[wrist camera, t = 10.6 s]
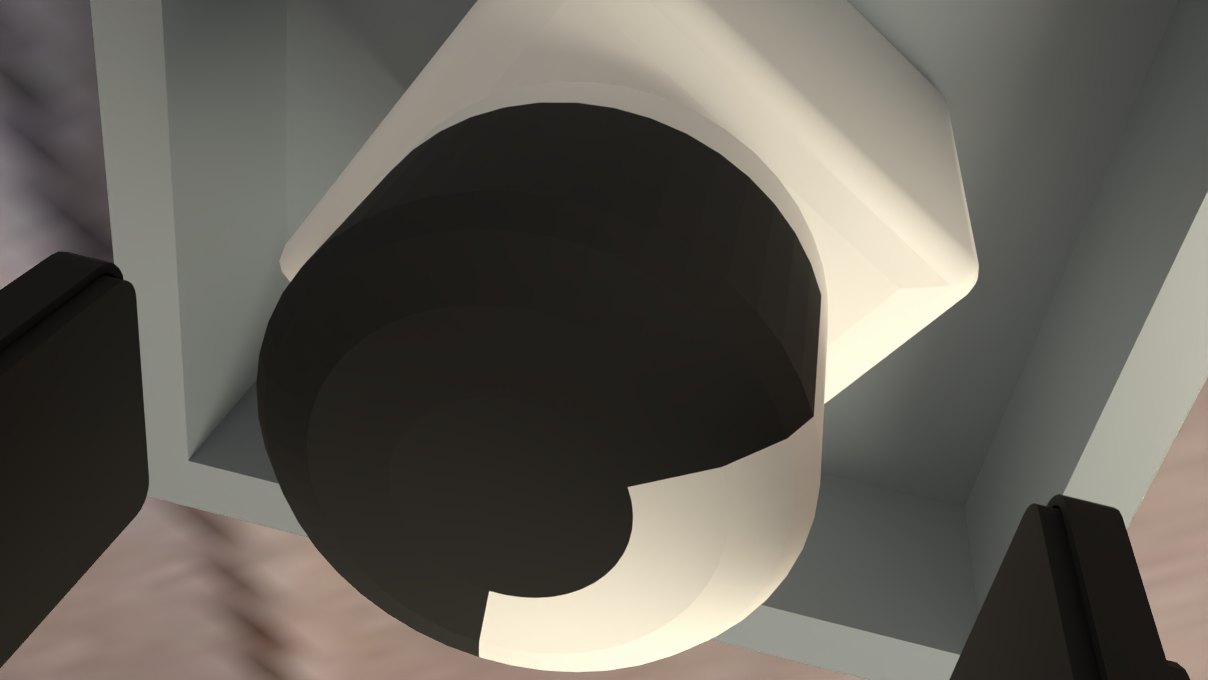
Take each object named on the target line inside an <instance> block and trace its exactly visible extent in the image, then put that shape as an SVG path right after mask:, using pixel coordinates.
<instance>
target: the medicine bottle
mask: <svg viewBox="0 0 1208 680" xmlns="http://www.w3.org/2000/svg"><path fill="white" fill-rule="evenodd" d="M279 262H280V266H281V270H282V273H283V274H284V275H285V276H286V277H287V279H288V280H289V281H290V283H289V285H288V286H287V288H286V289H285V290H284V292H283V293H282V295H281V297H280V299H279V301H278V303H277V305H276V307H275V309H274V311H273V313H272V315H271V317H270V319H269V321H268V324H267V328H266V332H265V335H264V339H263V342H262V346H261V349H260V353H259V362H258V372H257V382H256V389H257V405H258V418H259V422H260V427H261V432H262V436H263V441H264V445H265V449H266V452H267V454H268V457H269V460H270V462H271V465H272V468H273V470H274V473H275V476H276V478H277V481H278V483H279V486H280V488H281V490H282V493H283V495H284V497H285V499H286V500H287V502H288V504H289V506H290V508H291V510H292V512H293V514H294V515H295V517H296V519H297V521H298V523H299V524H300V526H301V527H302V528H303V530H304V531H305V533H306V534H307V536H308V537H309V538H310V540H311V541H312V543H313V544H314V546H315V547H316V548H317V549H318V551H319V552H320V553H321V554H322V555H323V556H324V557H325V559H326V560H327V561H328V562H329V563H330V564H331V565H332V566H333V568H334V569H335V570H336V571H337V572H338V573H339V574H340V575H341V576H342V577H343V578H345V579H346V580H347V581H348V582H349V583H350V584H351V585H352V586H353V587H354V588H356V589H357V590H358V591H359V592H360V593H361V594H362V595H363V596H365V597H366V598H368V599H369V600H370V601H372V602H373V603H374V604H376V605H377V606H378V607H380V608H381V609H382V610H384V611H385V612H386V613H388V614H389V615H391V616H393V617H394V618H396V619H398V620H399V621H401V622H403V623H404V624H406V625H408V626H409V627H411V628H413V629H414V630H416V631H418V632H420V633H422V634H424V635H426V636H428V637H430V638H433V639H435V640H437V641H439V642H441V643H443V644H445V645H447V646H450V647H453V648H456V649H458V650H461V651H464V652H467V653H469V654H472V655H475V656H478V657H481V658H485V659H489V660H493V661H497V662H500V663H504V664H508V665H513V666H519V667H525V668H532V669H538V670H546V671H565V672H588V671H607V670H614V669H620V668H626V667H632V666H638V665H642V664H646V663H649V662H653V661H656V660H660V659H663V658H666V657H670V656H672V655H675V654H677V653H680V652H682V651H685V650H687V649H689V648H692V647H694V646H696V645H698V644H701V643H703V642H705V641H708V640H710V639H712V638H714V637H716V636H718V635H719V634H721V633H723V632H724V631H726V630H728V629H729V628H731V627H732V626H734V625H736V624H737V623H739V622H740V621H742V620H743V619H745V618H746V617H747V616H748V615H749V614H750V613H752V612H753V611H754V610H755V609H756V608H757V607H759V606H760V605H761V604H762V603H763V602H765V601H766V600H767V599H768V597H769V596H770V595H771V594H772V593H773V592H774V590H775V589H776V588H777V587H778V586H779V585H780V583H781V582H782V581H783V580H784V579H785V578H786V576H787V575H788V573H789V571H790V570H791V568H792V566H793V565H794V563H795V561H796V560H797V558H798V556H799V555H800V553H801V551H802V550H803V547H804V545H805V542H806V539H807V537H808V534H809V531H810V529H811V526H812V523H813V521H814V517H815V512H816V506H817V500H818V495H819V489H820V477H821V457H822V438H823V418H824V404H825V403H826V402H828V401H829V400H830V399H832V398H833V397H834V396H836V395H837V394H838V393H840V392H841V391H842V390H843V389H845V388H846V387H847V386H849V385H850V384H851V383H853V382H854V381H855V380H857V379H858V378H859V377H860V376H862V375H863V374H864V373H866V372H867V371H868V370H870V369H871V368H872V367H873V366H875V365H876V364H877V363H879V362H880V361H881V360H883V359H884V358H885V357H887V356H888V355H889V354H890V353H892V352H893V351H894V350H896V349H897V348H898V347H900V346H901V345H902V344H903V343H905V342H906V341H907V340H909V339H910V338H911V337H913V336H914V335H915V334H917V333H918V332H919V331H920V330H922V329H923V328H924V327H926V326H927V325H928V324H930V323H931V322H932V321H933V320H935V319H936V318H937V317H939V316H940V315H941V314H943V313H944V312H945V311H947V310H948V309H949V308H950V307H952V306H953V305H954V304H956V303H957V302H958V301H960V300H961V299H962V298H963V297H965V296H966V295H967V294H968V293H969V292H970V290H971V289H972V288H973V287H974V285H975V284H976V281H977V279H978V270H979V264H978V259H977V253H976V248H975V243H974V238H973V233H972V228H971V223H970V218H969V212H968V207H967V202H966V197H965V192H964V187H963V182H962V177H961V171H960V166H959V161H958V156H957V151H956V146H955V141H954V136H953V130H952V125H951V120H950V115H949V110H948V105H947V102H946V100H945V99H944V97H943V95H942V94H941V93H940V92H939V91H938V90H937V89H936V88H935V87H934V86H933V85H932V84H931V83H930V82H929V81H928V80H927V79H926V78H925V77H924V76H923V75H922V74H921V73H920V72H919V71H918V70H917V69H916V68H915V67H914V66H913V65H912V64H911V63H910V62H909V61H908V60H907V59H906V58H905V57H904V56H903V55H902V54H901V53H900V52H899V51H898V50H897V49H896V48H895V47H894V46H893V45H892V44H891V43H890V42H889V41H888V40H887V39H886V38H885V37H884V36H883V35H882V34H881V33H880V32H879V31H878V30H877V29H876V28H875V27H874V26H872V25H871V24H870V23H869V22H868V21H867V20H866V19H865V18H864V17H863V16H862V15H861V14H860V13H859V12H858V11H857V10H856V9H855V8H854V7H853V6H852V5H851V4H850V3H849V2H848V1H847V0H477V2H476V3H475V4H474V5H473V7H472V8H471V9H470V11H469V12H468V13H467V14H466V16H465V17H464V18H463V19H462V21H461V22H460V23H459V24H458V26H457V27H456V28H455V30H454V31H453V32H452V33H451V35H450V36H449V37H448V38H447V40H446V41H445V42H444V44H443V45H442V46H441V47H440V49H439V50H438V51H437V52H436V54H435V55H434V56H433V58H432V59H431V60H430V61H429V63H428V64H427V65H426V66H425V68H424V69H423V70H422V71H421V73H420V74H419V75H418V77H417V78H416V79H415V80H414V82H413V83H412V84H411V85H410V87H409V88H408V89H407V91H406V92H405V93H404V94H403V96H402V97H401V98H400V99H399V101H398V102H397V103H396V104H395V106H394V107H393V108H392V110H391V111H390V112H389V113H388V115H387V116H386V117H385V118H384V120H383V121H382V122H381V124H380V125H379V126H378V127H377V129H376V130H375V131H374V132H373V134H372V135H371V136H370V138H369V139H368V140H367V141H366V143H365V144H364V145H363V146H362V148H361V149H360V150H359V151H358V153H357V154H356V155H355V157H354V158H353V159H352V160H351V162H350V163H349V164H348V165H347V167H346V168H345V169H344V171H343V172H342V173H341V174H340V176H339V177H338V178H337V179H336V181H335V182H334V183H333V184H332V186H331V187H330V188H329V190H328V191H327V192H326V193H325V195H324V196H323V197H322V198H321V200H320V201H319V202H318V204H317V205H316V206H315V207H314V209H313V210H312V211H311V212H310V214H309V215H308V216H307V218H306V219H305V220H304V221H303V223H302V224H301V225H300V226H299V228H298V229H297V230H296V231H295V233H294V234H293V235H292V237H291V238H290V239H289V240H288V242H287V243H286V244H285V247H284V249H283V252H282V255H281V258H280V261H279Z"/></svg>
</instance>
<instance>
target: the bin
mask: <svg viewBox="0 0 1208 680" xmlns="http://www.w3.org/2000/svg"><path fill="white" fill-rule="evenodd" d="M847 1H848V2H849V3H850V4H851V5H852V6H853V7H854V8H855V9H856V10H857V11H858V12H859V13H860V14H861V15H862V16H863V17H864V18H865V19H866V20H867V21H868V22H869V23H870V24H871V25H872V26H874V27H875V28H876V29H877V30H878V31H879V32H880V33H881V34H882V35H883V36H884V37H885V38H886V39H887V40H888V41H889V42H890V43H891V44H892V45H893V46H894V47H895V48H896V49H897V50H898V51H899V52H900V53H901V54H902V55H903V56H904V57H905V58H906V59H907V60H908V61H909V62H910V63H911V64H912V65H913V66H914V67H915V68H916V69H917V70H918V71H919V72H920V73H921V74H922V75H923V76H924V77H925V78H926V79H927V80H928V81H929V82H930V83H931V84H932V85H933V86H934V87H935V88H936V89H937V90H938V91H939V92H940V93H941V94H942V95H943V97H944V99H945V100H946V102H947V105H948V110H949V115H950V120H951V125H952V130H953V136H954V141H955V146H956V151H957V156H958V161H959V166H960V171H961V177H962V182H963V187H964V192H965V197H966V202H967V207H968V212H969V218H970V223H971V228H972V233H973V238H974V243H975V248H976V253H977V259H978V264H979V270H978V279H977V281H976V284H975V285H974V287H973V288H972V289H971V290H970V292H969V293H968V294H967V295H966V296H965V297H963V298H962V299H961V300H960V301H958V302H957V303H956V304H954V305H953V306H952V307H950V308H949V309H948V310H947V311H945V312H944V313H943V314H941V315H940V316H939V317H937V318H936V319H935V320H933V321H932V322H931V323H930V324H928V325H927V326H926V327H924V328H923V329H922V330H920V331H919V332H918V333H917V334H915V335H914V336H913V337H911V338H910V339H909V340H907V341H906V342H905V343H903V344H902V345H901V346H900V347H898V348H897V349H896V350H894V351H893V352H892V353H890V354H889V355H888V356H887V357H885V358H884V359H883V360H881V361H880V362H879V363H877V364H876V365H875V366H873V367H872V368H871V369H870V370H868V371H867V372H866V373H864V374H863V375H862V376H860V377H859V378H858V379H857V380H855V381H854V382H853V383H851V384H850V385H849V386H847V387H846V388H845V389H843V390H842V391H841V392H840V393H838V394H837V395H836V396H834V397H833V398H832V399H830V400H829V401H828V402H826V403H825V404H824V418H823V438H822V457H821V477H820V489H819V495H818V500H817V506H816V512H815V517H814V521H813V523H812V526H811V529H810V531H809V534H808V537H807V539H806V542H805V545H804V547H803V550H802V551H801V553H800V555H799V556H798V558H797V560H796V561H795V563H794V565H793V566H792V568H791V570H790V571H789V573H788V575H787V576H786V578H785V579H784V580H783V581H782V582H781V583H780V585H779V586H778V587H777V588H776V589H775V590H774V592H773V593H772V594H771V595H770V596H769V597H768V599H767V600H766V601H765V602H763V603H762V604H761V605H760V606H759V607H757V608H756V609H755V610H754V611H753V612H752V613H750V614H749V615H748V616H747V617H746V618H745V619H743V620H742V621H740V622H739V623H737V624H736V625H734V626H732V627H731V628H729V629H728V630H726V631H724V632H723V633H721V634H719V635H718V636H716V637H714V638H712V639H710V640H714V641H718V642H721V643H725V644H729V645H733V646H737V647H741V648H745V649H749V650H753V651H757V652H761V653H765V654H768V655H772V656H776V657H780V658H784V659H788V660H792V661H796V662H800V663H804V664H808V665H812V666H816V667H819V668H823V669H827V670H831V671H835V672H839V673H843V674H847V675H851V676H855V677H859V678H863V679H867V680H949V679H950V677H951V675H952V672H953V670H954V668H955V666H956V664H957V661H958V659H959V657H960V655H961V652H962V650H963V648H964V646H965V644H966V641H967V639H968V637H969V635H970V632H971V630H972V628H973V626H974V624H975V621H976V619H977V617H978V615H979V612H980V610H981V608H982V606H983V604H984V601H985V599H986V597H987V595H988V592H989V590H990V588H991V586H992V584H993V581H994V579H995V577H996V575H997V572H998V570H999V568H1000V566H1001V564H1002V561H1003V559H1004V557H1005V555H1006V552H1007V550H1008V548H1009V546H1010V544H1011V541H1012V539H1013V537H1014V535H1015V532H1016V530H1017V528H1018V526H1019V524H1020V521H1021V519H1022V517H1023V515H1024V513H1025V511H1026V509H1027V508H1028V507H1029V506H1030V504H1033V503H1035V504H1039V505H1043V506H1047V504H1048V502H1049V501H1050V500H1051V499H1052V497H1053V496H1055V495H1058V494H1061V495H1065V496H1069V497H1073V498H1077V499H1081V500H1085V501H1089V502H1093V503H1098V504H1102V505H1106V506H1110V507H1114V508H1116V509H1118V510H1119V511H1120V513H1121V515H1122V517H1123V520H1124V524H1125V527H1126V530H1127V528H1128V526H1129V525H1130V523H1131V521H1132V519H1133V517H1134V515H1135V513H1136V511H1137V509H1138V507H1139V506H1140V504H1141V502H1142V500H1143V498H1144V496H1145V494H1146V492H1147V490H1148V489H1149V487H1150V485H1151V483H1152V481H1153V479H1154V477H1155V475H1156V473H1157V471H1158V470H1159V468H1160V466H1161V464H1162V462H1163V460H1164V458H1165V456H1166V454H1167V453H1168V451H1169V449H1170V447H1171V445H1172V443H1173V441H1174V439H1175V437H1176V435H1177V434H1178V432H1179V430H1180V428H1181V426H1182V424H1183V422H1184V420H1185V418H1186V417H1187V415H1188V413H1189V411H1190V409H1191V407H1192V405H1193V403H1194V401H1195V399H1196V398H1197V396H1198V394H1199V392H1200V390H1201V388H1202V386H1203V384H1204V382H1205V381H1206V379H1207V377H1208V0H847ZM476 2H477V0H90V7H91V18H92V29H93V40H94V50H95V61H96V72H97V83H98V94H99V105H100V116H101V126H102V137H103V148H104V159H105V170H106V181H107V192H108V202H109V213H110V224H111V235H112V246H113V257H114V264H115V265H116V266H118V267H119V269H120V271H121V272H122V274H123V279H124V280H126V281H129V282H130V283H132V285H133V287H134V288H135V292H136V300H137V314H138V328H139V342H140V356H141V371H142V385H143V399H144V413H145V427H146V441H147V455H148V470H149V488H148V493H147V496H149V497H153V498H157V499H161V500H165V501H168V502H172V503H176V504H180V505H184V506H188V507H192V508H196V509H200V510H204V511H208V512H212V513H216V514H219V515H223V516H227V517H231V518H235V519H239V520H243V521H247V522H251V523H255V524H259V525H263V526H266V527H270V528H274V529H278V530H282V531H286V532H290V533H294V534H298V535H302V536H306V537H308V536H307V534H306V533H305V531H304V530H303V528H302V527H301V526H300V524H299V523H298V521H297V519H296V517H295V515H294V514H293V512H292V510H291V508H290V506H289V504H288V502H287V500H286V499H285V497H284V495H283V493H282V490H281V488H280V486H279V483H278V481H277V478H276V476H275V473H274V470H273V468H272V465H271V462H270V460H269V457H268V454H267V452H266V449H265V445H264V441H263V436H262V432H261V427H260V422H259V418H258V405H257V389H256V382H257V372H258V362H259V353H260V349H261V346H262V342H263V339H264V335H265V332H266V328H267V324H268V321H269V319H270V317H271V315H272V313H273V311H274V309H275V307H276V305H277V303H278V301H279V299H280V297H281V295H282V293H283V292H284V290H285V289H286V288H287V286H288V285H289V283H290V281H289V280H288V279H287V277H286V276H285V275H284V274H283V273H282V270H281V266H280V262H279V261H280V258H281V255H282V252H283V249H284V247H285V244H286V243H287V242H288V240H289V239H290V238H291V237H292V235H293V234H294V233H295V231H296V230H297V229H298V228H299V226H300V225H301V224H302V223H303V221H304V220H305V219H306V218H307V216H308V215H309V214H310V212H311V211H312V210H313V209H314V207H315V206H316V205H317V204H318V202H319V201H320V200H321V198H322V197H323V196H324V195H325V193H326V192H327V191H328V190H329V188H330V187H331V186H332V184H333V183H334V182H335V181H336V179H337V178H338V177H339V176H340V174H341V173H342V172H343V171H344V169H345V168H346V167H347V165H348V164H349V163H350V162H351V160H352V159H353V158H354V157H355V155H356V154H357V153H358V151H359V150H360V149H361V148H362V146H363V145H364V144H365V143H366V141H367V140H368V139H369V138H370V136H371V135H372V134H373V132H374V131H375V130H376V129H377V127H378V126H379V125H380V124H381V122H382V121H383V120H384V118H385V117H386V116H387V115H388V113H389V112H390V111H391V110H392V108H393V107H394V106H395V104H396V103H397V102H398V101H399V99H400V98H401V97H402V96H403V94H404V93H405V92H406V91H407V89H408V88H409V87H410V85H411V84H412V83H413V82H414V80H415V79H416V78H417V77H418V75H419V74H420V73H421V71H422V70H423V69H424V68H425V66H426V65H427V64H428V63H429V61H430V60H431V59H432V58H433V56H434V55H435V54H436V52H437V51H438V50H439V49H440V47H441V46H442V45H443V44H444V42H445V41H446V40H447V38H448V37H449V36H450V35H451V33H452V32H453V31H454V30H455V28H456V27H457V26H458V24H459V23H460V22H461V21H462V19H463V18H464V17H465V16H466V14H467V13H468V12H469V11H470V9H471V8H472V7H473V5H474V4H475V3H476Z"/></svg>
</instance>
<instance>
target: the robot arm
mask: <svg viewBox="0 0 1208 680" xmlns="http://www.w3.org/2000/svg"><path fill="white" fill-rule="evenodd" d="M148 488H149V470H148V455H147V441H146V427H145V413H144V399H143V385H142V371H141V356H140V342H139V328H138V314H137V300H136V292H135V288H134V287H133V285H132V283H130V282H129V281H126V280H124V279H123V274H122V272H121V271H120V269H119V267H118V266H116V265H115V264H113V263H110V262H106V261H102V260H97V259H93V258H89V257H85V256H81V255H77V254H73V253H69V252H57V253H55V254H52V255H51V256H49V257H48V258H46V259H45V260H43V261H42V262H40V263H39V264H37V265H36V266H35V267H33V268H32V269H30V270H29V271H27V272H26V273H24V274H23V275H21V276H20V277H19V278H17V279H16V280H14V281H13V282H11V283H10V284H8V285H7V286H5V287H4V288H3V289H1V290H0V668H1V667H2V666H3V665H4V664H5V662H6V661H7V660H8V659H9V658H10V657H11V656H12V655H13V653H14V652H15V651H16V650H17V649H18V648H19V647H20V646H21V644H22V643H23V642H24V641H25V640H26V639H27V638H28V637H29V635H30V634H31V633H32V632H33V631H34V630H35V629H36V628H37V626H38V625H39V624H40V623H41V622H42V621H43V620H44V619H45V617H46V616H47V615H48V614H49V613H50V612H51V611H52V610H53V608H54V607H55V606H56V605H57V604H58V603H59V602H60V601H61V600H62V598H63V597H64V596H65V595H66V594H67V593H68V592H69V591H70V589H71V588H72V587H73V586H74V585H75V584H76V583H77V582H78V580H79V579H80V578H81V577H82V576H83V575H84V574H85V573H86V571H87V570H88V569H89V568H90V567H91V566H92V565H93V564H94V562H95V561H96V560H97V559H98V558H99V557H100V556H101V555H102V553H103V552H104V551H105V550H106V549H107V548H108V547H109V546H110V544H111V543H112V542H113V541H114V540H115V539H116V538H117V537H118V536H119V534H120V533H121V532H122V531H123V530H124V529H125V528H126V527H127V525H128V524H129V523H130V522H131V521H132V520H133V519H134V518H135V516H136V515H137V514H138V512H139V511H140V510H141V508H142V506H143V504H144V502H145V499H146V496H147V493H148ZM949 680H1190V678H1189V676H1188V674H1187V672H1186V670H1185V669H1184V668H1183V667H1181V666H1180V665H1179V664H1178V663H1176V662H1172V661H1168V660H1166V658H1165V654H1164V651H1163V648H1162V645H1161V641H1160V638H1159V635H1158V631H1157V628H1156V625H1155V622H1154V618H1153V615H1152V612H1151V609H1150V605H1149V602H1148V599H1147V595H1146V592H1145V589H1144V586H1143V582H1142V579H1141V576H1140V573H1139V569H1138V566H1137V563H1136V560H1135V556H1134V553H1133V550H1132V546H1131V543H1130V540H1129V537H1128V533H1127V530H1126V527H1125V524H1124V520H1123V517H1122V515H1121V513H1120V511H1119V510H1118V509H1116V508H1114V507H1110V506H1106V505H1102V504H1098V503H1093V502H1089V501H1085V500H1081V499H1077V498H1073V497H1069V496H1065V495H1061V494H1058V495H1055V496H1053V497H1052V499H1051V500H1050V501H1049V502H1048V504H1047V506H1043V505H1039V504H1035V503H1033V504H1030V506H1029V507H1028V508H1027V509H1026V511H1025V513H1024V515H1023V517H1022V519H1021V521H1020V524H1019V526H1018V528H1017V530H1016V532H1015V535H1014V537H1013V539H1012V541H1011V544H1010V546H1009V548H1008V550H1007V552H1006V555H1005V557H1004V559H1003V561H1002V564H1001V566H1000V568H999V570H998V572H997V575H996V577H995V579H994V581H993V584H992V586H991V588H990V590H989V592H988V595H987V597H986V599H985V601H984V604H983V606H982V608H981V610H980V612H979V615H978V617H977V619H976V621H975V624H974V626H973V628H972V630H971V632H970V635H969V637H968V639H967V641H966V644H965V646H964V648H963V650H962V652H961V655H960V657H959V659H958V661H957V664H956V666H955V668H954V670H953V672H952V675H951V677H950V679H949Z"/></svg>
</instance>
